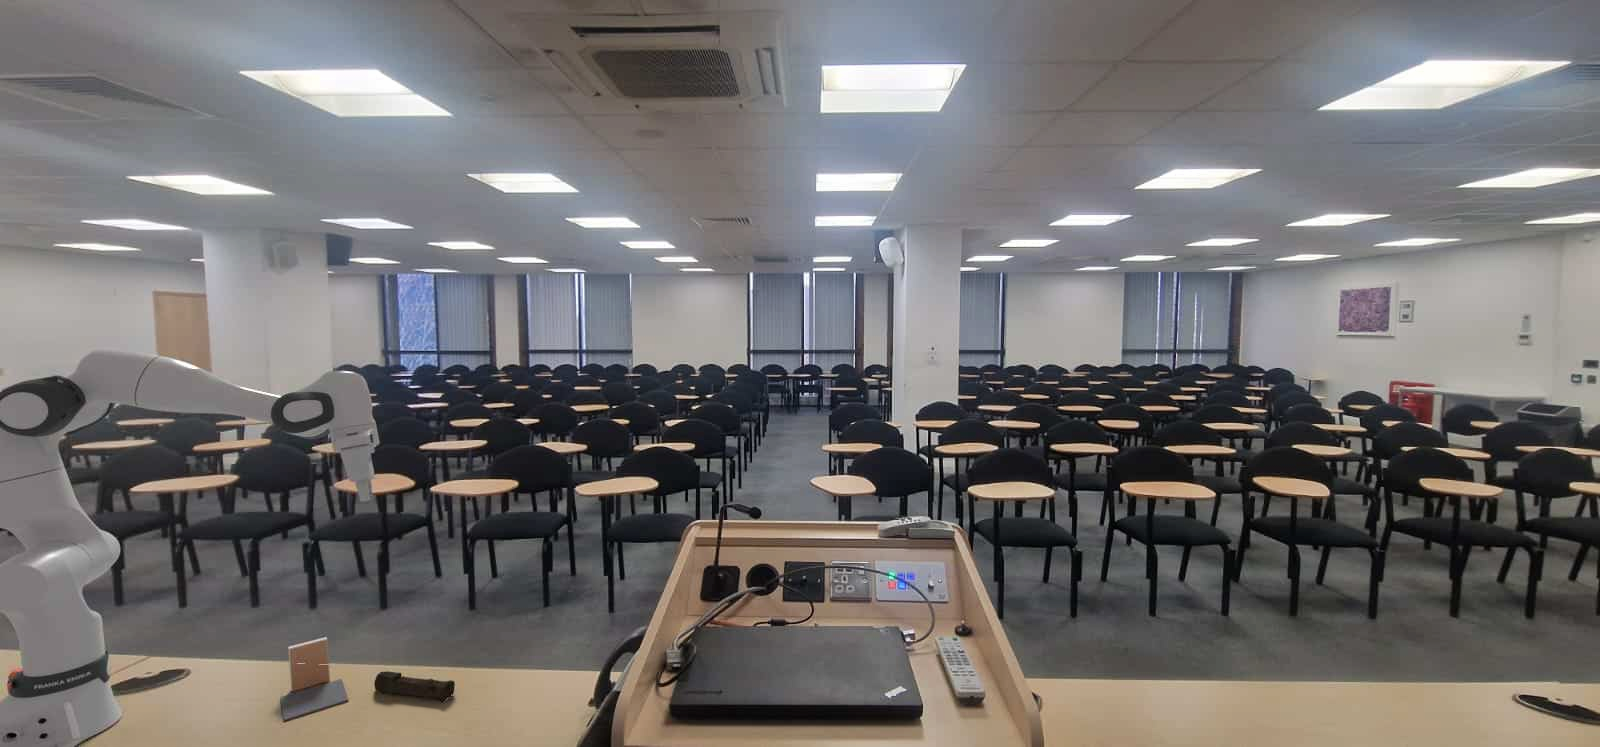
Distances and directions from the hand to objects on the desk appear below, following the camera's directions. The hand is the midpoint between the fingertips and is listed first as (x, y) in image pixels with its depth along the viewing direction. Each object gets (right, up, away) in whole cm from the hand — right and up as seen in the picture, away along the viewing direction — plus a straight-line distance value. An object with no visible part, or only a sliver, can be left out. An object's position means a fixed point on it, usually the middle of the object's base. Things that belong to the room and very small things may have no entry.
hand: (367, 501), depth 148 cm
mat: (-8, -43, -5) cm, 44 cm away
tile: (-14, -42, +1) cm, 44 cm away
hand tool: (+12, -43, -3) cm, 44 cm away
